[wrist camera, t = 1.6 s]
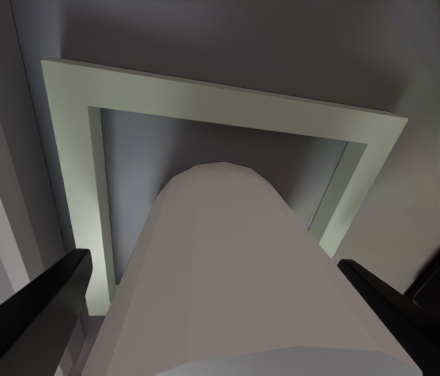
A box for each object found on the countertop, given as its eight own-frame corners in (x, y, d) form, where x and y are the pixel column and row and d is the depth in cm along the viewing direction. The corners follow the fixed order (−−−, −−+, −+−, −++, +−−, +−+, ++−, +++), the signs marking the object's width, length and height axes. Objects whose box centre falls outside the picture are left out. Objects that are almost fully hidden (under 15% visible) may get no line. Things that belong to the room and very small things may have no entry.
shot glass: (115, 248, 11) (18, 500, 5) (176, 113, 8) (131, 308, 2) (241, 285, 13) (283, 487, 7) (324, 188, 10) (510, 387, 4)
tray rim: (387, 111, 9) (408, 118, 8) (293, 299, 14) (300, 315, 13) (59, 57, 7) (40, 59, 6) (96, 297, 12) (89, 315, 11)
